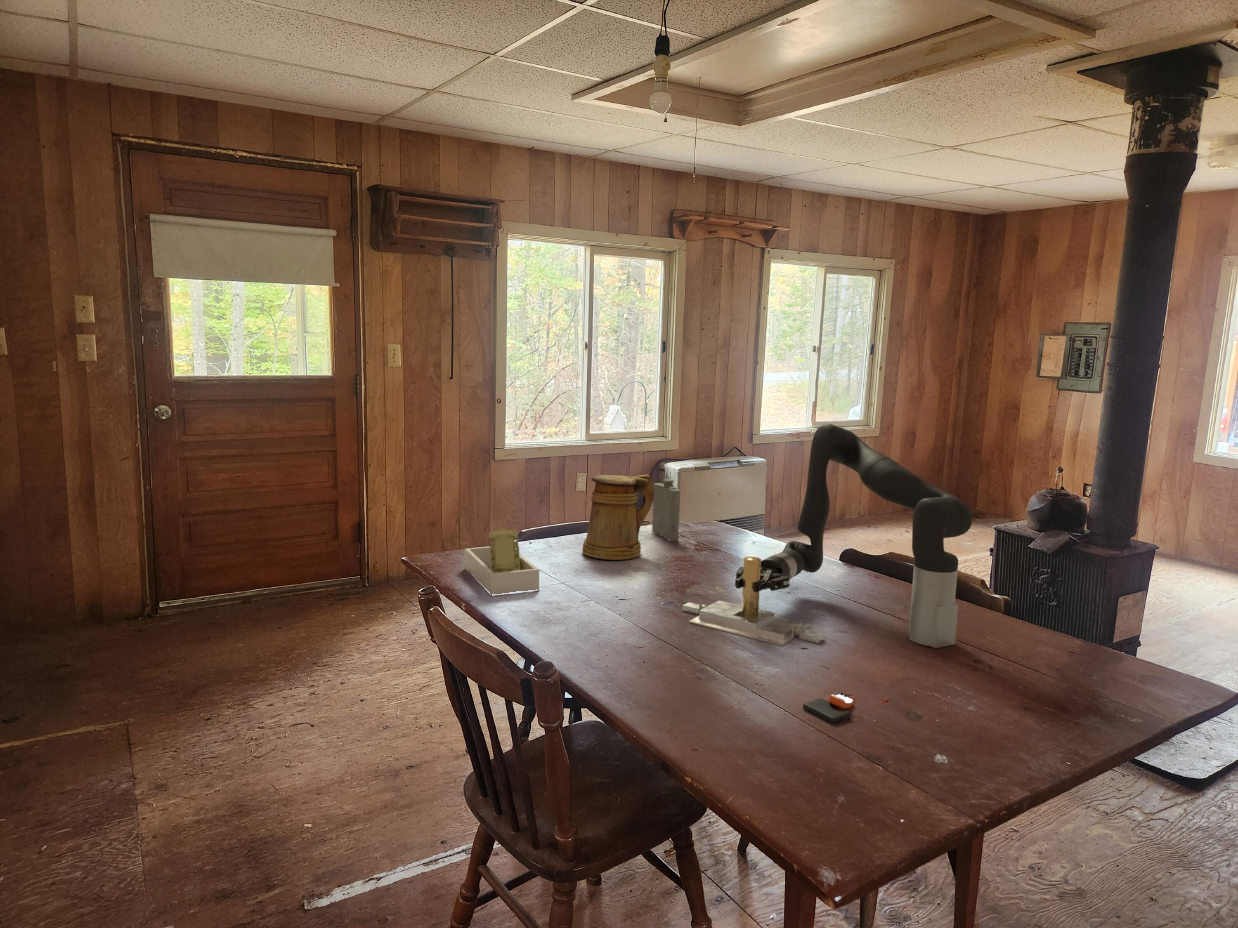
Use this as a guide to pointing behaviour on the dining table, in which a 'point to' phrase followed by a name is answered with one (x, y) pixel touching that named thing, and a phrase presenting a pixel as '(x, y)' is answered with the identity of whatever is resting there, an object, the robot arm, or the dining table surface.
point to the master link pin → (750, 587)
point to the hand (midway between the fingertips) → (746, 586)
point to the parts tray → (500, 573)
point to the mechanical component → (504, 550)
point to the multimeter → (831, 708)
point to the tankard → (617, 516)
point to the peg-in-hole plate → (750, 623)
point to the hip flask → (666, 510)
